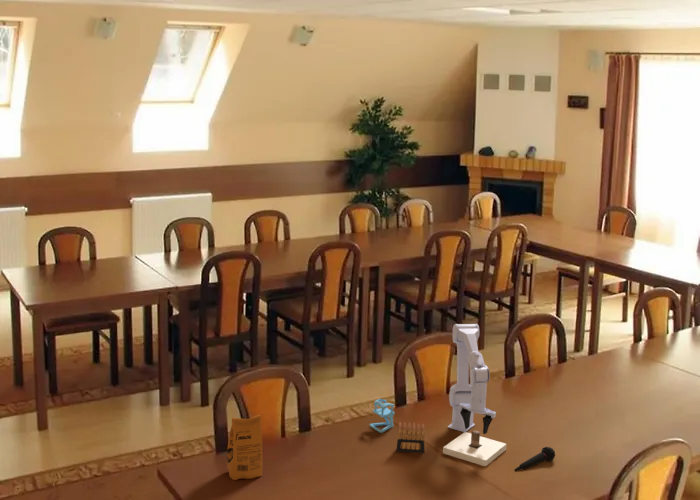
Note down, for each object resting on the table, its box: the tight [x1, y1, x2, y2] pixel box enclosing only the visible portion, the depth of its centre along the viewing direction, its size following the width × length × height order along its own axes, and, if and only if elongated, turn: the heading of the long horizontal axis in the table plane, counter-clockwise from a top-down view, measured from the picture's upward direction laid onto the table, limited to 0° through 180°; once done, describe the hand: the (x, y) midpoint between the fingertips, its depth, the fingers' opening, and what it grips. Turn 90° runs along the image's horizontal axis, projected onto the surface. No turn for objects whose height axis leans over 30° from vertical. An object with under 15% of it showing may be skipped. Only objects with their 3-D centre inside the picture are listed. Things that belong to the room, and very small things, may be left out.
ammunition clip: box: [396, 421, 426, 454], centre depth 343 cm, size 11×2×12 cm, turn 85°
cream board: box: [442, 431, 507, 467], centre depth 345 cm, size 18×18×2 cm
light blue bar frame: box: [369, 398, 396, 434], centre depth 364 cm, size 8×8×12 cm
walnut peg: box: [471, 430, 481, 449], centre depth 345 cm, size 3×3×8 cm
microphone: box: [514, 446, 556, 472], centre depth 336 cm, size 6×6×20 cm
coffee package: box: [226, 414, 264, 481], centre depth 320 cm, size 10×12×22 cm
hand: (476, 430), depth 344 cm, fingers open, 7 cm apart
